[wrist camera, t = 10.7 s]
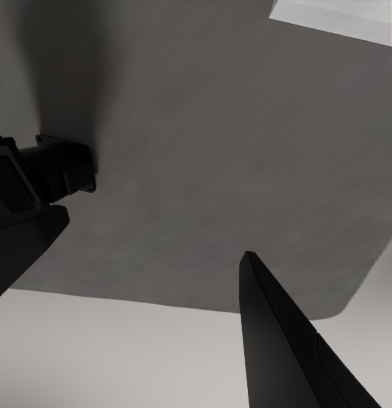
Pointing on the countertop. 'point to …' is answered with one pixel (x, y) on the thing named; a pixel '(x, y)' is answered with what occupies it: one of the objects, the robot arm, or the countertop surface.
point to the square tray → (340, 17)
